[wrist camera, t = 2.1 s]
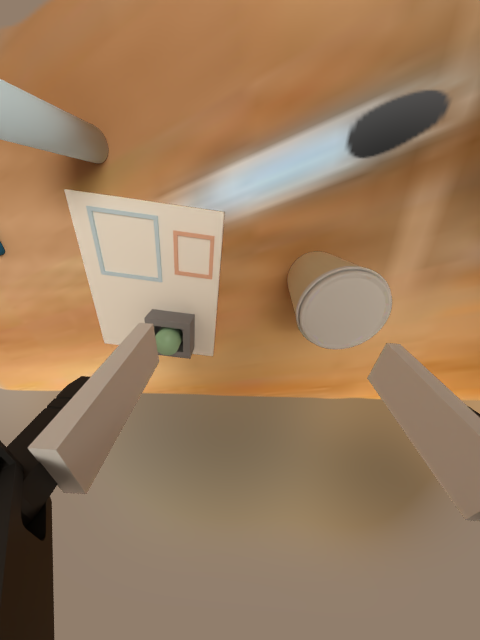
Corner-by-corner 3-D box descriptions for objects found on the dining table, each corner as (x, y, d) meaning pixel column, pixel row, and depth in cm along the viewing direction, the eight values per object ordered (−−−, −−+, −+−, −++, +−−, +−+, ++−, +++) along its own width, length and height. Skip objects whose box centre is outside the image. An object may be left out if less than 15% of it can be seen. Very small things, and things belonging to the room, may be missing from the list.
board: (70, 189, 26) (43, 187, 23) (224, 211, 27) (221, 213, 23) (107, 339, 38) (93, 353, 35) (213, 352, 39) (210, 367, 35)
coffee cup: (278, 304, 33) (291, 350, 23) (285, 243, 28) (306, 267, 18) (335, 305, 33) (375, 353, 23) (353, 245, 28) (413, 270, 18)
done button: (158, 323, 33) (151, 332, 30) (183, 326, 33) (177, 336, 30) (160, 343, 35) (153, 353, 32) (183, 345, 35) (178, 356, 32)
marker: (72, 121, 23) (-94, 44, 12) (104, 126, 23) (-30, 55, 12) (80, 161, 25) (-57, 127, 14) (111, 165, 25) (-1, 136, 14)
